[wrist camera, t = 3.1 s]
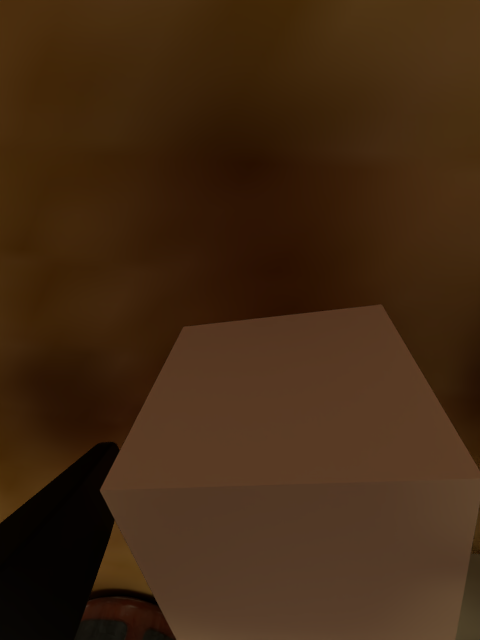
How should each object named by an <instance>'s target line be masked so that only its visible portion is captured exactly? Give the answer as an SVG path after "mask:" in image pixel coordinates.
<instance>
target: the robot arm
mask: <svg viewBox="0 0 480 640" xmlns="http://www.w3.org/2000/svg"><path fill="white" fill-rule="evenodd" d="M119 452H120V450H119V448H118V446H117V444H116V443H114V442H101V443H98V444H97V445H95V446H94V447H93V448H92V449H90V450H89V451H88V452H87V453H86V454H84V455H83V456H82V457H81V458H79V459H78V460H77V461H76V462H75V463H73V464H72V465H71V466H70V467H68V468H67V469H66V470H65V471H64V472H62V473H61V474H60V475H59V476H58V477H56V478H55V479H54V480H53V481H51V482H50V483H49V484H48V485H47V486H45V487H44V488H43V489H42V490H40V491H39V492H38V493H37V494H36V495H34V496H33V497H32V498H31V499H29V500H28V501H27V502H26V503H25V504H23V505H22V506H21V507H20V508H18V509H17V510H16V511H15V512H14V513H12V514H11V515H10V516H9V517H7V518H6V519H5V520H4V521H3V522H1V523H0V640H75V637H76V634H77V631H78V628H79V625H80V622H81V620H82V617H83V614H84V611H85V608H86V605H87V602H88V599H89V596H90V594H91V591H92V588H93V585H94V582H95V579H96V576H97V573H98V570H99V568H100V565H101V562H102V559H103V556H104V553H105V550H106V547H107V544H108V541H109V538H110V535H111V532H112V528H113V524H114V520H115V519H114V517H113V515H112V513H111V511H110V509H109V507H108V506H107V504H106V502H105V500H104V498H103V496H102V494H101V492H100V489H101V487H102V485H103V483H104V481H105V479H106V477H107V475H108V473H109V471H110V469H111V467H112V465H113V463H114V461H115V459H116V457H117V455H118V454H119Z"/></svg>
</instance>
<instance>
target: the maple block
mask: <svg viewBox="0 0 480 640" xmlns="http://www.w3.org/2000/svg"><path fill="white" fill-rule="evenodd" d="M455 640H480V554H471V555H470V561H469V566H468V572H467V577H466V583H465V589H464V594H463V600H462V605H461V611H460V617H459V622H458V628H457V633H456V639H455Z"/></svg>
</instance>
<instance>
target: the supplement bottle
mask: <svg viewBox="0 0 480 640" xmlns="http://www.w3.org/2000/svg"><path fill="white" fill-rule="evenodd" d="M75 640H176V638H175V636H174V634H173V632H172V630H171V628H170V626H169V624H168V622H167V621H166V619H165V617H164V615H163V613H162V611H161V609H160V607H159V605H156V604H153V603H150V602H148V601H144V600H141V599H137V598H134V597H129V596H113V597H101V598H96V599H93V600H90V601H88V602H87V605H86V608H85V611H84V614H83V617H82V620H81V622H80V625H79V628H78V631H77V634H76V637H75Z"/></svg>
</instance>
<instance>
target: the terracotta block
mask: <svg viewBox="0 0 480 640" xmlns="http://www.w3.org/2000/svg"><path fill="white" fill-rule="evenodd" d="M100 492H101V494H102V496H103V498H104V500H105V502H106V504H107V506H108V507H109V509H110V511H111V513H112V515H113V517H114V519H115V521H116V523H117V525H118V527H119V529H120V531H121V533H122V535H123V537H124V539H125V541H126V543H127V544H128V546H129V548H130V550H131V552H132V554H133V556H134V558H135V560H136V562H137V564H138V566H139V568H140V570H141V572H142V574H143V576H144V578H145V580H146V582H147V583H148V585H149V587H150V589H151V591H152V593H153V595H154V597H155V599H156V601H157V603H158V605H159V607H160V609H161V611H162V613H163V615H164V617H165V619H166V621H167V622H168V624H169V626H170V628H171V630H172V632H173V634H174V636H175V638H176V640H455V639H456V633H457V628H458V622H459V617H460V611H461V605H462V600H463V594H464V589H465V583H466V577H467V572H468V566H469V561H470V555H471V549H472V544H473V538H474V533H475V527H476V521H477V516H478V510H479V505H480V471H479V469H478V467H477V465H476V464H475V462H474V460H473V459H472V457H471V455H470V454H469V452H468V450H467V448H466V447H465V445H464V443H463V442H462V440H461V438H460V437H459V435H458V433H457V431H456V430H455V428H454V426H453V425H452V423H451V421H450V420H449V418H448V416H447V414H446V413H445V411H444V409H443V408H442V406H441V404H440V403H439V401H438V399H437V397H436V396H435V394H434V392H433V391H432V389H431V387H430V386H429V384H428V382H427V380H426V379H425V377H424V375H423V374H422V372H421V370H420V369H419V367H418V365H417V363H416V362H415V360H414V358H413V357H412V355H411V353H410V352H409V350H408V348H407V346H406V345H405V343H404V341H403V340H402V338H401V336H400V335H399V333H398V331H397V330H396V328H395V326H394V324H393V323H392V321H391V319H390V318H389V316H388V314H387V313H386V311H385V309H384V307H383V306H382V304H381V305H372V306H363V307H354V308H345V309H336V310H327V311H319V312H310V313H301V314H292V315H283V316H274V317H265V318H257V319H248V320H239V321H230V322H221V323H212V324H203V325H195V326H186V327H183V329H182V330H181V332H180V334H179V336H178V338H177V340H176V342H175V344H174V346H173V348H172V350H171V352H170V354H169V356H168V358H167V360H166V362H165V364H164V366H163V368H162V370H161V371H160V373H159V375H158V377H157V379H156V381H155V383H154V385H153V387H152V389H151V391H150V393H149V395H148V397H147V399H146V401H145V403H144V405H143V407H142V409H141V411H140V413H139V414H138V416H137V418H136V420H135V422H134V424H133V426H132V428H131V430H130V432H129V434H128V436H127V438H126V440H125V442H124V444H123V446H122V448H121V450H120V452H119V454H118V455H117V457H116V459H115V461H114V463H113V465H112V467H111V469H110V471H109V473H108V475H107V477H106V479H105V481H104V483H103V485H102V487H101V489H100Z"/></svg>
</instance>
